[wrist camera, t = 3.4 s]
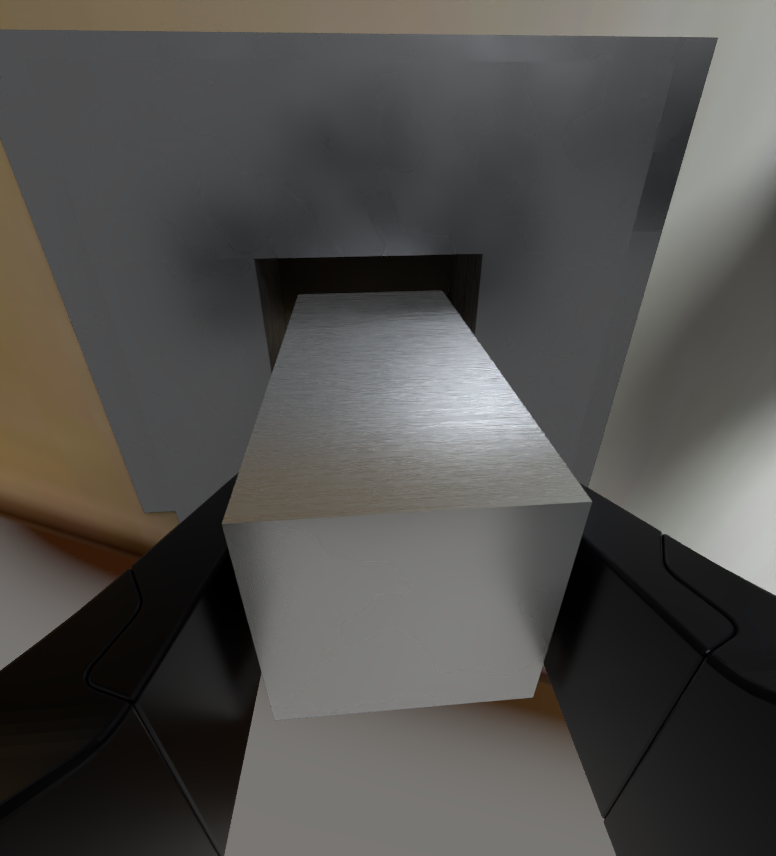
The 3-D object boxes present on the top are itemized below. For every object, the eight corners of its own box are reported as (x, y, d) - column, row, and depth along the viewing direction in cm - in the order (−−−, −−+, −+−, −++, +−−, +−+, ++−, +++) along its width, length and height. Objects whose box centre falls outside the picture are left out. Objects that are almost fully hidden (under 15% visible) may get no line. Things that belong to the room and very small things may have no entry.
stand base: (698, 43, 13) (897, -19, 8) (580, 476, 22) (647, 567, 17) (-20, 36, 12) (-263, -43, 7) (150, 500, 20) (91, 607, 15)
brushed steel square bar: (442, 290, 13) (592, 501, 5) (434, 427, 15) (528, 713, 7) (298, 294, 12) (221, 523, 5) (313, 433, 15) (278, 737, 7)
